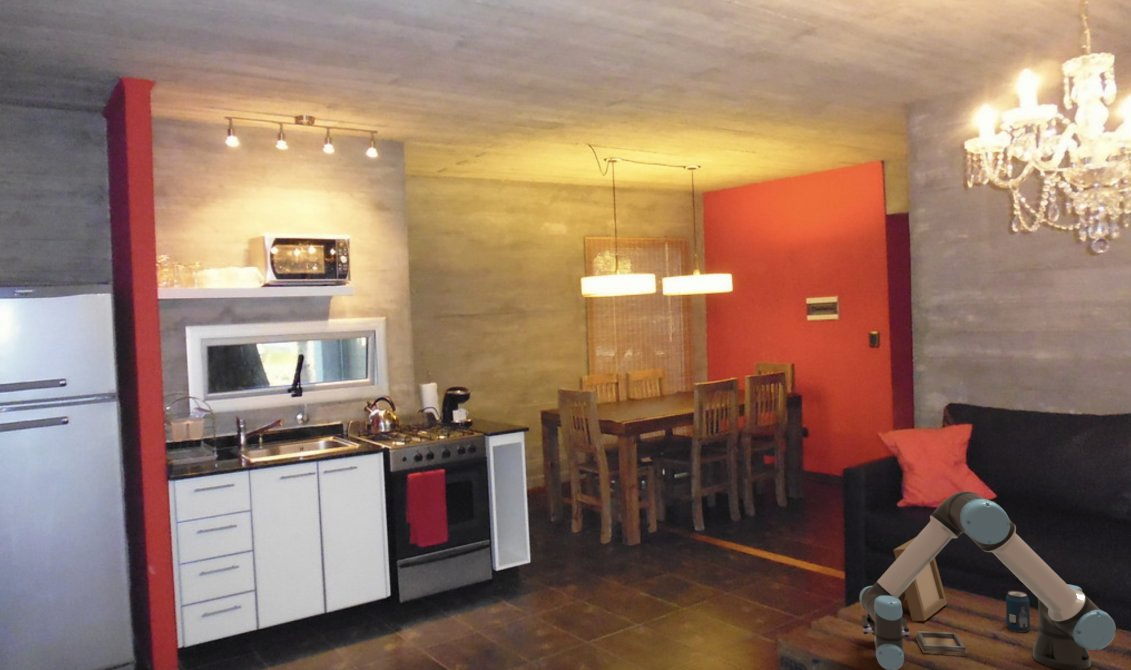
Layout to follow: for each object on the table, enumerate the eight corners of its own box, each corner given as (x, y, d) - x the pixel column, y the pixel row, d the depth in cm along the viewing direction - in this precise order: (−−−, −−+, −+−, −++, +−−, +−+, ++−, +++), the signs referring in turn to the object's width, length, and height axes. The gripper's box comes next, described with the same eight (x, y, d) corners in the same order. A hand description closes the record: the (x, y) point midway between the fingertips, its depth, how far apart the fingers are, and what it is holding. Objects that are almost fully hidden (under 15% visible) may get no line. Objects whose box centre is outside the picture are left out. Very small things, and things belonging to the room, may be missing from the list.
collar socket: (957, 640, 272) (957, 632, 272) (967, 656, 260) (967, 648, 260) (915, 638, 275) (915, 630, 275) (923, 653, 263) (922, 646, 263)
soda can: (1013, 623, 285) (1012, 588, 284) (1034, 629, 279) (1033, 594, 278) (1002, 628, 281) (1001, 593, 281) (1022, 634, 275) (1022, 598, 275)
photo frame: (947, 605, 303) (944, 537, 303) (924, 623, 287) (921, 551, 287) (906, 598, 313) (903, 531, 313) (882, 614, 297) (879, 545, 297)
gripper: (854, 648, 257) (852, 621, 279) (921, 654, 251) (914, 626, 273) (853, 624, 257) (852, 599, 279) (920, 629, 251) (913, 603, 273)
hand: (883, 612), depth 276 cm, fingers closed on syrup box, 6 cm apart
